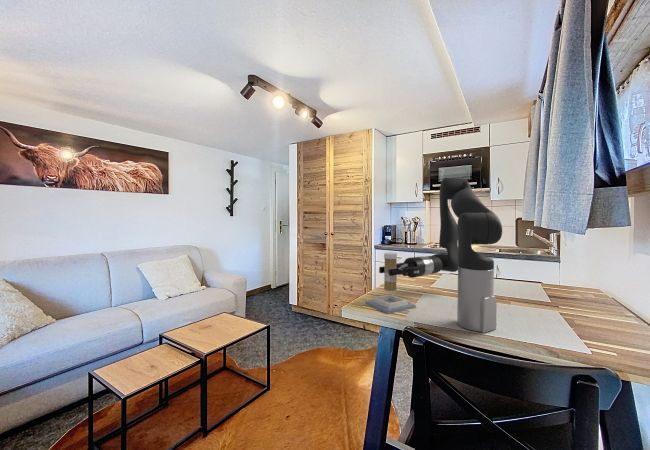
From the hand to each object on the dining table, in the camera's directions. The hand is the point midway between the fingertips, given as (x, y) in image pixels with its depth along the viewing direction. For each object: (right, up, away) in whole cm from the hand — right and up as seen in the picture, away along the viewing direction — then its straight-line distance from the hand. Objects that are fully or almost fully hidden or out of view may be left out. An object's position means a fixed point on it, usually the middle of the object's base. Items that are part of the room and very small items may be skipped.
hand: (384, 271), depth 98 cm
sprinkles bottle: (+2, -7, +2) cm, 8 cm away
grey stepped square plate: (+2, -13, +1) cm, 13 cm away
